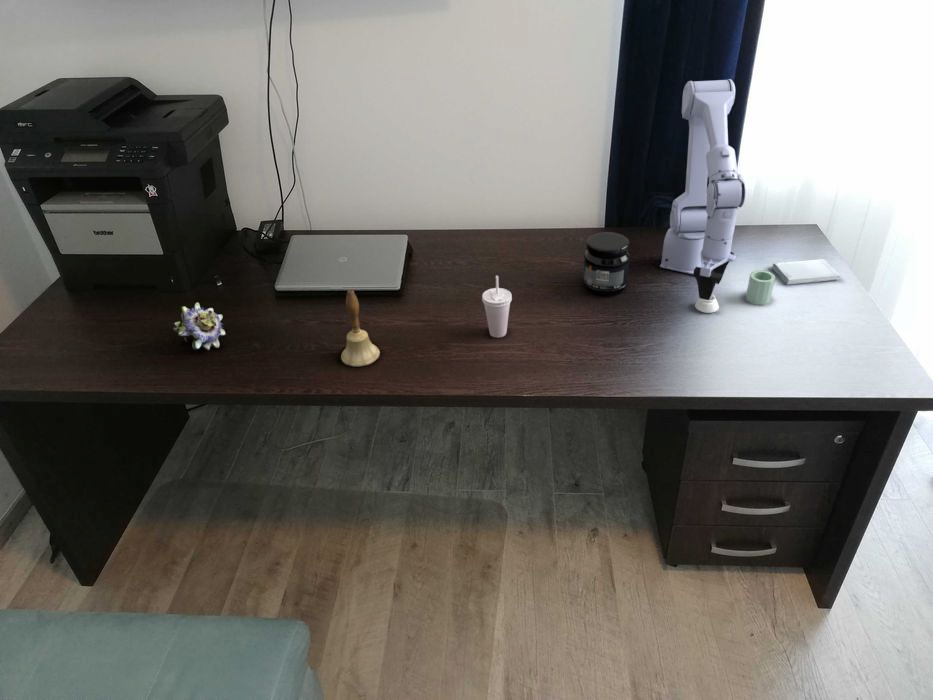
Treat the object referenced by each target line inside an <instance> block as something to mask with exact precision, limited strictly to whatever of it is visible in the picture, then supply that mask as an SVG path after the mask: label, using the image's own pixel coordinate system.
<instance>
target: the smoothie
mask: <svg viewBox="0 0 933 700" xmlns="http://www.w3.org/2000/svg"><path fill="white" fill-rule="evenodd" d="M499 285H500V283H499V275H495V287H494V288H493V287H492V288H489V289H486V290H485V291H483V292H482V295H481V301H482V303H483V306H484V311H485V316H486V322H487V327H488V331H489V335H490V336H491V337H493V338H503V337H505V336H506V335H507V331H508V324H509V323H508V322H509V316H510V315H509V314H510V306H511V302H512V300H513V297H512V296H513V295H512V292H511V291H510V290H508V289H506V288H502V287H499Z"/></svg>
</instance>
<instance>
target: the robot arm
mask: <svg viewBox="0 0 933 700" xmlns="http://www.w3.org/2000/svg"><path fill="white" fill-rule="evenodd" d="M735 99H736V86H735V82H734V81H733V80H732V79H731V78H728V79H717V80H715V79H714V80H698V81H695V80H694V81H692V80H689V81H687V82H686V84H685V85H684V88H683V91H682V100H681V101H682V102H681V115H682V117H681V118H682V119H683V120H687V121H688V127H689V129H688V145H687V160H686V162H687V163H686V174H685V175H686V176H685V190H684V192H683V193H682V194H681V195H679V196H678V197H676V198H675V199H674V200H672V204H671V210H670V215H669V228H668V229H667V231H666V234H665V236H664V239H663V247H662V252H661V253H662V254H661V262H660V264H659V268H662V269H666V270H671V271H674V272H680V273H684V274H689V275H693V276H694V278H695V280H696V284H697V288H698V299H699V298H701V299H705V300H709V299H710V297H711V295H713V292H714V289H715V286H716V285H720V283H721V282H722V279H723V276H724V274H725V271H726V269H727V267H728V265H729V263H730V262H734V261H735V260H736V255H735V253H734V252H733V251H731V249H732V245H733V240H734V233H735V229H736V228H735V227H736V223H737V217H738V212H739V208H742V207H743V206H744V204H745V200H746V184H745V180H744V179H743V178H742V174H740V173H739V171H738V164H737V157H736V150H735V149H734V148H733V147H732V146H731V145H729V131H728V115H729V114H730V112H731V110H732V107H733V105H734V103H735Z"/></svg>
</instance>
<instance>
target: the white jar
mask: <svg viewBox="0 0 933 700" xmlns="http://www.w3.org/2000/svg"><path fill="white" fill-rule="evenodd" d="M694 307H695V309H696V310H697V311H699V312H702V313H706V314H709V313H714V312H717V311H719V307H720V306H719V303H718V300H717V299H716V295H714V294H712V295H711V297H710V299H709V300H705V299H701V298H699V297H698V299H697V301H696V302H695V303H694Z"/></svg>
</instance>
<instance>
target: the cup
mask: <svg viewBox="0 0 933 700" xmlns="http://www.w3.org/2000/svg"><path fill="white" fill-rule="evenodd" d="M775 281H776V276H775V275H774V274H773V273H772V272H770V271H767V270H762V269H761V270H758V269H757V270H754V271H751V273H750V274H749V278H748V281H747V282H748V283H747V287H746V293H745V300H746V301H747V302H748V303H750V304H752V305H756V306H764V305H768V304H769V303H770V302H771V298H772V294H773V289H774V286H775Z"/></svg>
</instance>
